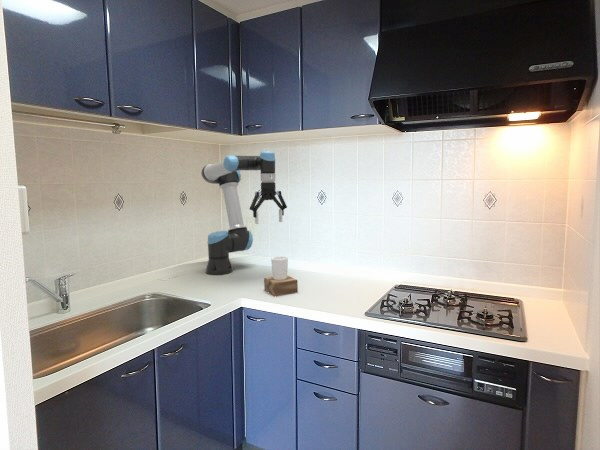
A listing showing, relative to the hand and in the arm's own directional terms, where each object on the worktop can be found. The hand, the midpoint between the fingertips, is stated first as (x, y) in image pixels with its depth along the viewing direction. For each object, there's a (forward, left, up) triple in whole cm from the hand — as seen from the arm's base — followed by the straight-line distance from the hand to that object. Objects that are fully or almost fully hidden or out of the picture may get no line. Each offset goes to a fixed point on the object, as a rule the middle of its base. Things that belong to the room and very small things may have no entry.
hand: (268, 222), depth 202 cm
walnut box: (+20, -4, -31) cm, 37 cm away
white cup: (+20, -4, -25) cm, 32 cm away
